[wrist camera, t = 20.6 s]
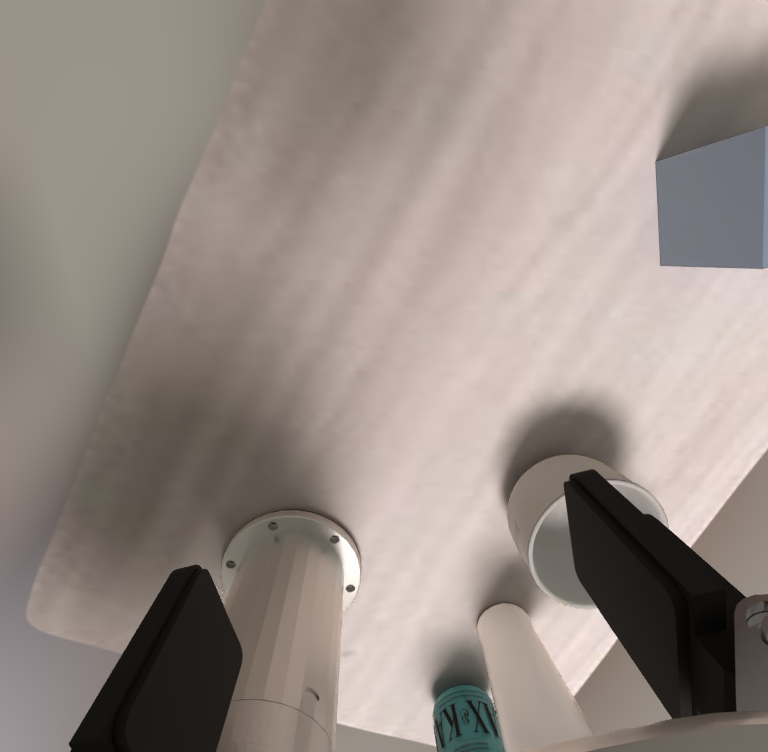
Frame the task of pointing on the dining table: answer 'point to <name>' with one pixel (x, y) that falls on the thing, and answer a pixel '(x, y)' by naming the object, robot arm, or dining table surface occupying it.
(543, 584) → the teacup
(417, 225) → the dining table surface
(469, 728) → the beverage bottle
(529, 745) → the drinking glass
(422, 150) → the dining table surface
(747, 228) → the pale blue cube
